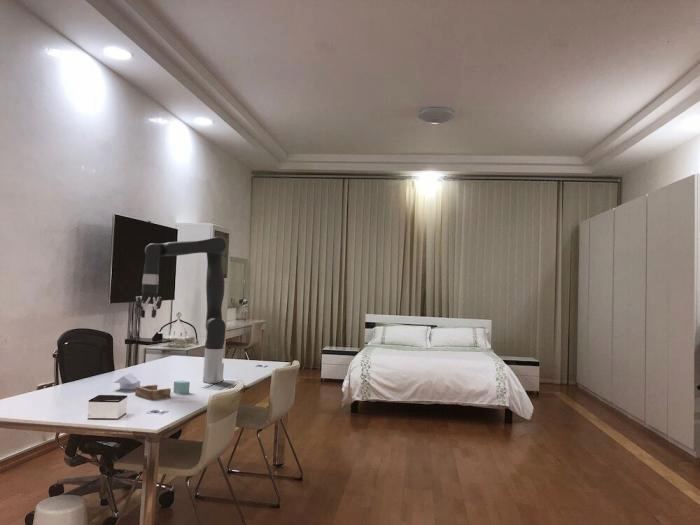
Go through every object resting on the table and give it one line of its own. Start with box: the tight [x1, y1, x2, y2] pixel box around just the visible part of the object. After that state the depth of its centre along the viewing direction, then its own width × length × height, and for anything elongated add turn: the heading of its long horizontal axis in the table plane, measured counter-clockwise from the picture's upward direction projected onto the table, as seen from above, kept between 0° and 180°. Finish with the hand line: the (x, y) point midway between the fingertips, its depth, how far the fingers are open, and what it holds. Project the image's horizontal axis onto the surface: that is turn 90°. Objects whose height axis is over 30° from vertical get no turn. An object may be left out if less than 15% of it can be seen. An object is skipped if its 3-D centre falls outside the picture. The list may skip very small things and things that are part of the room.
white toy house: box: [113, 372, 141, 390], centre depth 262 cm, size 9×7×13 cm
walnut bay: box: [134, 384, 172, 401], centre depth 248 cm, size 10×12×4 cm
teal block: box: [173, 380, 191, 395], centre depth 259 cm, size 5×5×5 cm
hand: (148, 317), depth 277 cm, fingers open, 5 cm apart
